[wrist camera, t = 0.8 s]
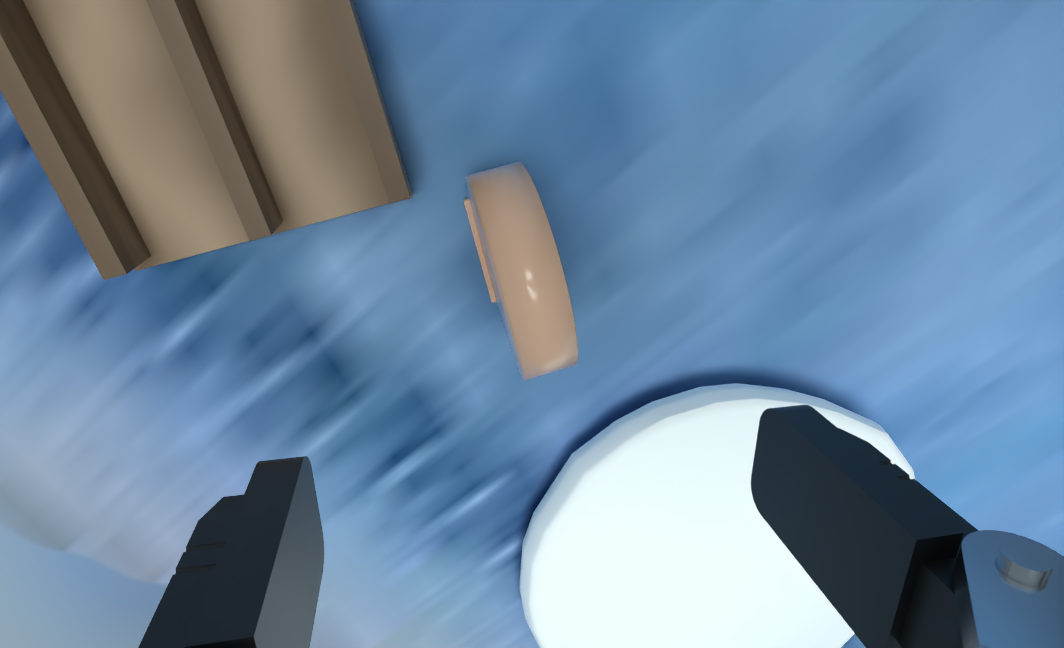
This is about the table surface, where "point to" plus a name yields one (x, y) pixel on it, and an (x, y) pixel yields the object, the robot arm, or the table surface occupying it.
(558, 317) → the saucer
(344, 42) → the dish rack
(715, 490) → the plate
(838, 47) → the table surface
